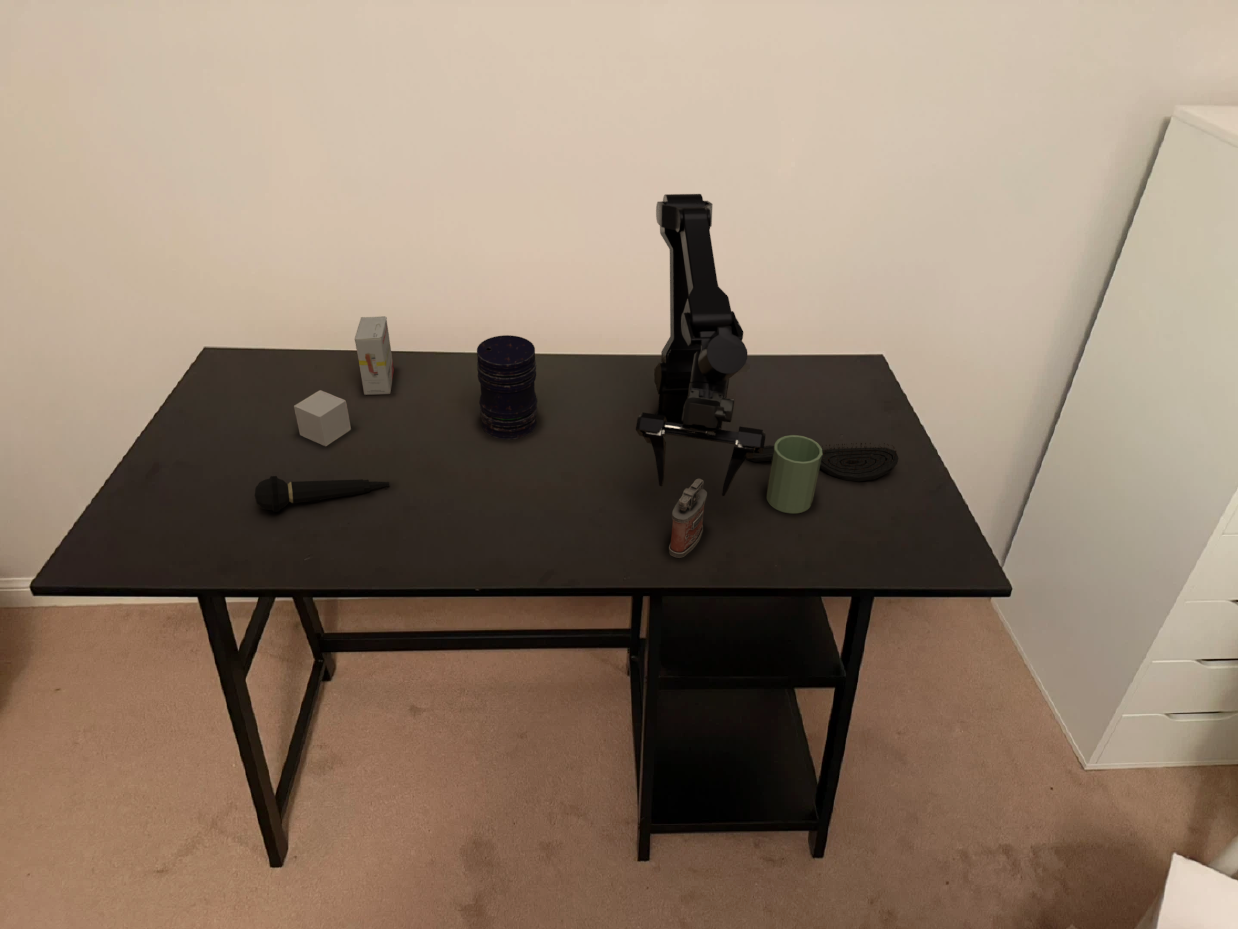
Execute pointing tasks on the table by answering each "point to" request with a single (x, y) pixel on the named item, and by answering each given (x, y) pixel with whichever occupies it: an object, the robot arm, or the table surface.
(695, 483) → the lighter
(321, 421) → the light grey cube
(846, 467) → the hairbrush
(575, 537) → the table surface
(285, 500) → the microphone
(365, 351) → the ink box
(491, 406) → the storage jar
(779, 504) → the pen cup
